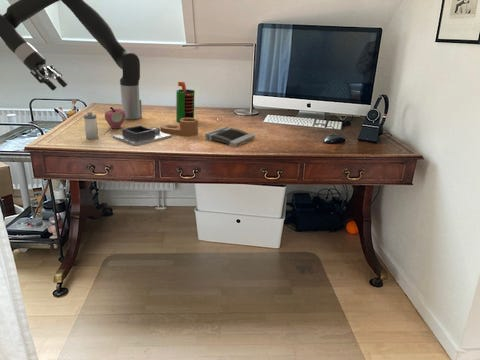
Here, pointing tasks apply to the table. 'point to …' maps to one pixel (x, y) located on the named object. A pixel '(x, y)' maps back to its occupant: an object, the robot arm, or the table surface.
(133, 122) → the table surface
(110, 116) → the apple
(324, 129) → the table surface
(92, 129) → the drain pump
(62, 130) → the table surface
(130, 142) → the mount plate
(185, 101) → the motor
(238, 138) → the grey square tray
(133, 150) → the table surface
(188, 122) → the bracket
